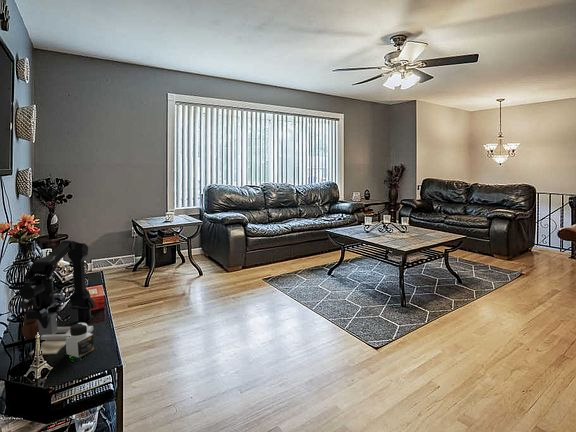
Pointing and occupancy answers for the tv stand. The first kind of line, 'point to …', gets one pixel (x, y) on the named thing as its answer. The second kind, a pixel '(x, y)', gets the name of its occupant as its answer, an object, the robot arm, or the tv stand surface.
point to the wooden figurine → (30, 327)
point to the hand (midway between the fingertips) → (48, 325)
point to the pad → (51, 347)
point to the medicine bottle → (79, 340)
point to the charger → (49, 325)
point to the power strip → (61, 336)
